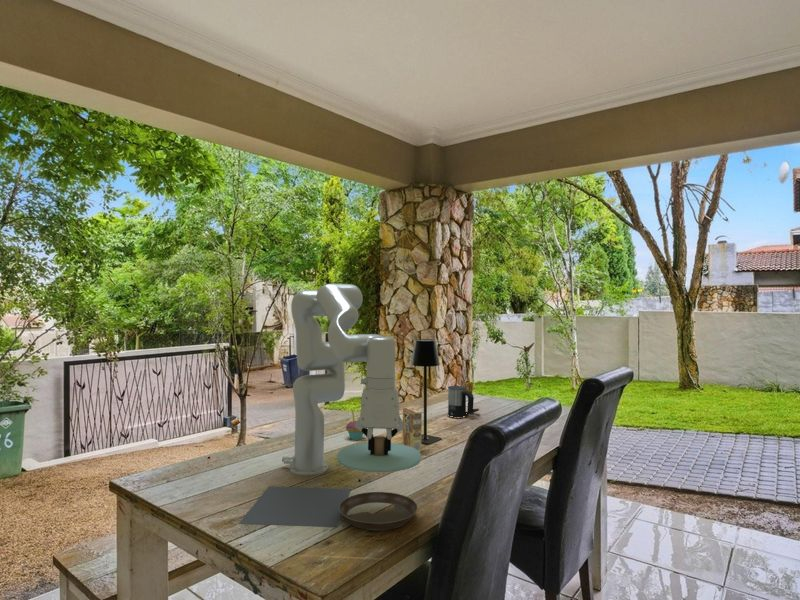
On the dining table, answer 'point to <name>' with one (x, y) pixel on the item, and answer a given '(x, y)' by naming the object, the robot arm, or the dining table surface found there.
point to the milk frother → (459, 401)
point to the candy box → (412, 428)
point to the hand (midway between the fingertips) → (379, 452)
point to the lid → (379, 457)
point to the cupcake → (354, 430)
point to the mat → (297, 507)
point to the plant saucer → (385, 521)
